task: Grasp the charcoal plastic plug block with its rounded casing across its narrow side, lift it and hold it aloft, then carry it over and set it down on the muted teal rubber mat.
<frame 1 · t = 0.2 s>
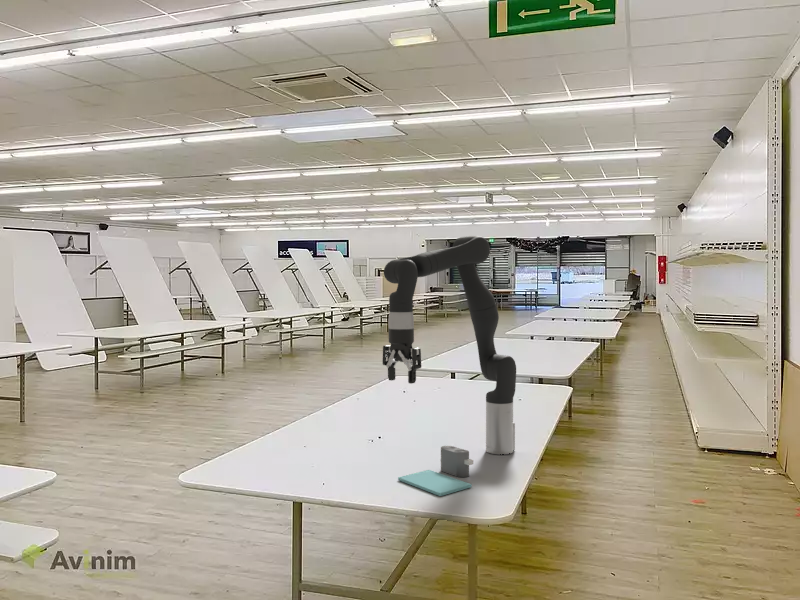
hand: (401, 381, 184), 28 cm above the table, fingers open, 8 cm apart
mat: (434, 483, 178), on the table
plug block: (454, 472, 188), on the table
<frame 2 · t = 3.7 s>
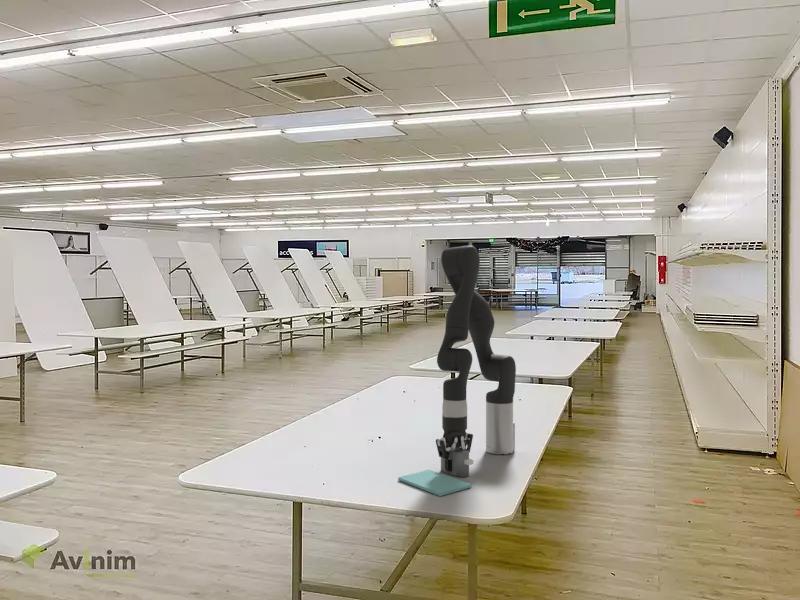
hand: (454, 469, 188), 1 cm above the table, fingers closed on plug block, 4 cm apart
plug block: (454, 472, 188), on the table, touching gripper
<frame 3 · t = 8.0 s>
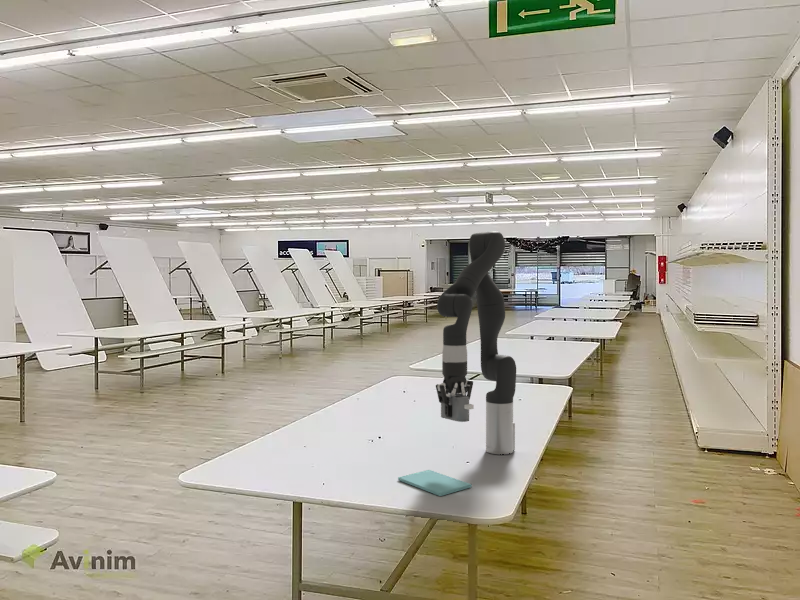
hand: (454, 415, 188), 17 cm above the table, fingers closed on plug block, 4 cm apart
plug block: (454, 418, 188), point 16 cm above the table, touching gripper
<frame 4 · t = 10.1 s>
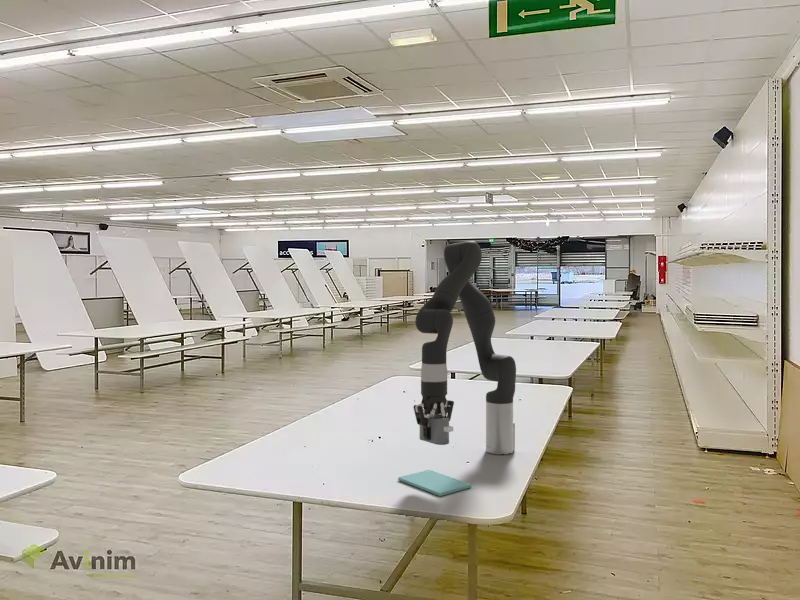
hand: (433, 438, 177), 13 cm above the table, fingers closed on plug block, 4 cm apart
plug block: (434, 440, 177), point 12 cm above the table, touching gripper
when the fingers open (3 cm above the table, at t = 12.2 s): plug block drops 1 cm, resting on mat.
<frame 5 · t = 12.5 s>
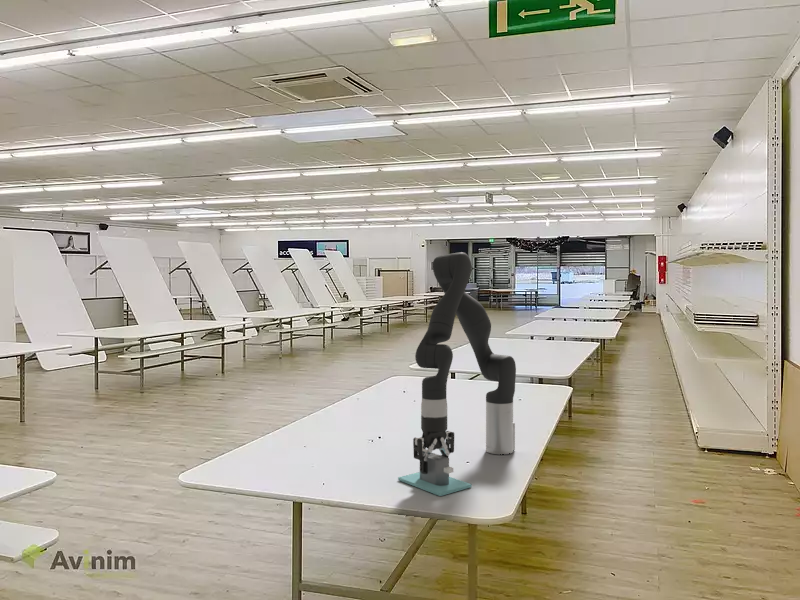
hand: (434, 470, 177), 4 cm above the table, fingers open, 7 cm apart
plug block: (434, 480, 178), point 1 cm above the table, touching mat
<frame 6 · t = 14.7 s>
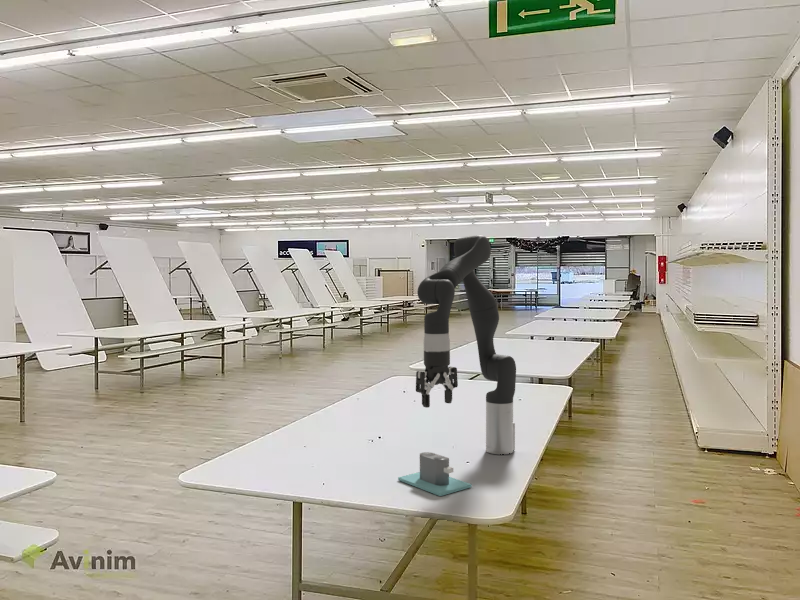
hand: (437, 405, 178), 22 cm above the table, fingers open, 8 cm apart
nothing on the table moved.
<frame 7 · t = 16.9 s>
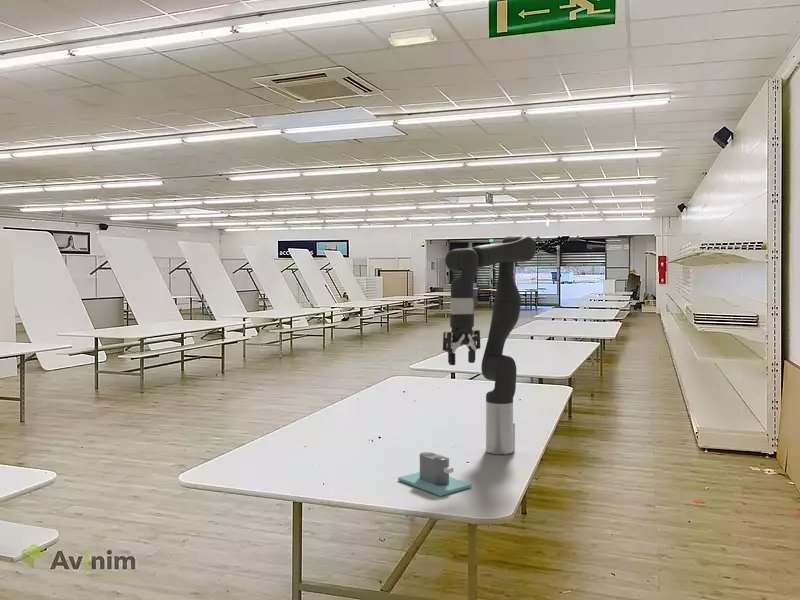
hand: (461, 363, 195), 32 cm above the table, fingers open, 8 cm apart
nothing on the table moved.
at the end: plug block inside the target area on the mat (0.0 cm from its centre), point 0.8 cm above the mat's base; plug block tilted 0°; the gripper is holding nothing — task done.
